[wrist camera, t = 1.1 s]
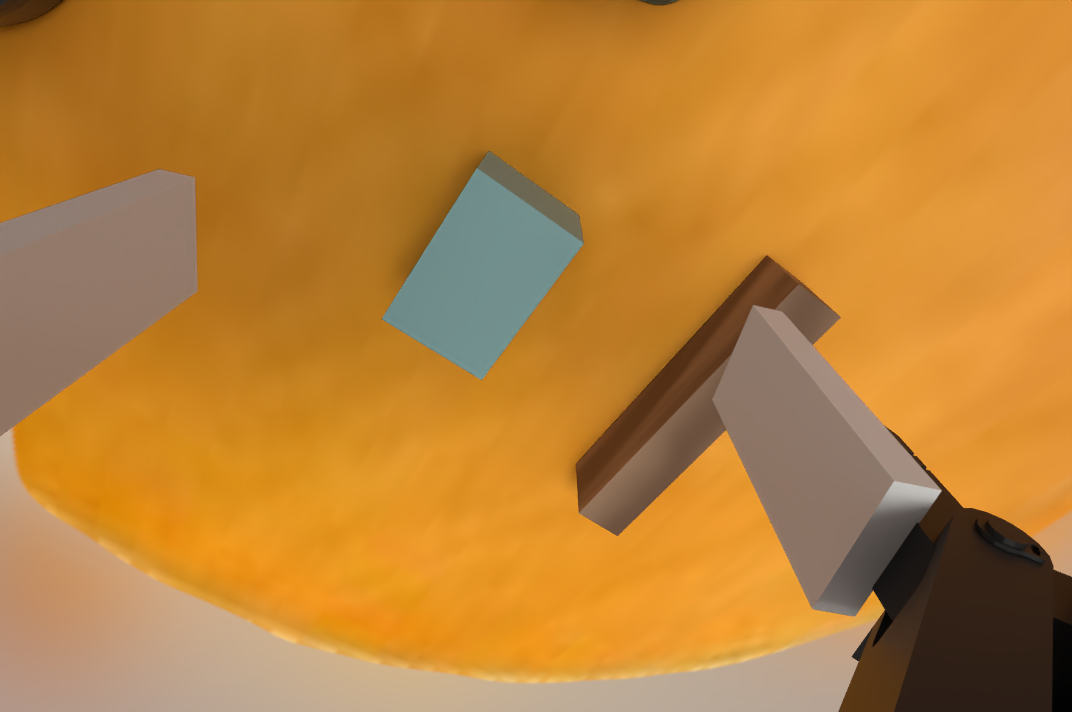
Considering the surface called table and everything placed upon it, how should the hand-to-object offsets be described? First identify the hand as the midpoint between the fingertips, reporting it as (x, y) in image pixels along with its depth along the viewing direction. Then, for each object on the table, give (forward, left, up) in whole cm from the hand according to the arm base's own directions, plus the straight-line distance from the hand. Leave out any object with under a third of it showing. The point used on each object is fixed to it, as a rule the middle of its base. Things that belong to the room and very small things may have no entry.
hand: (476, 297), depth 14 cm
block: (+1, -5, -21) cm, 21 cm away
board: (+16, -5, -21) cm, 26 cm away
